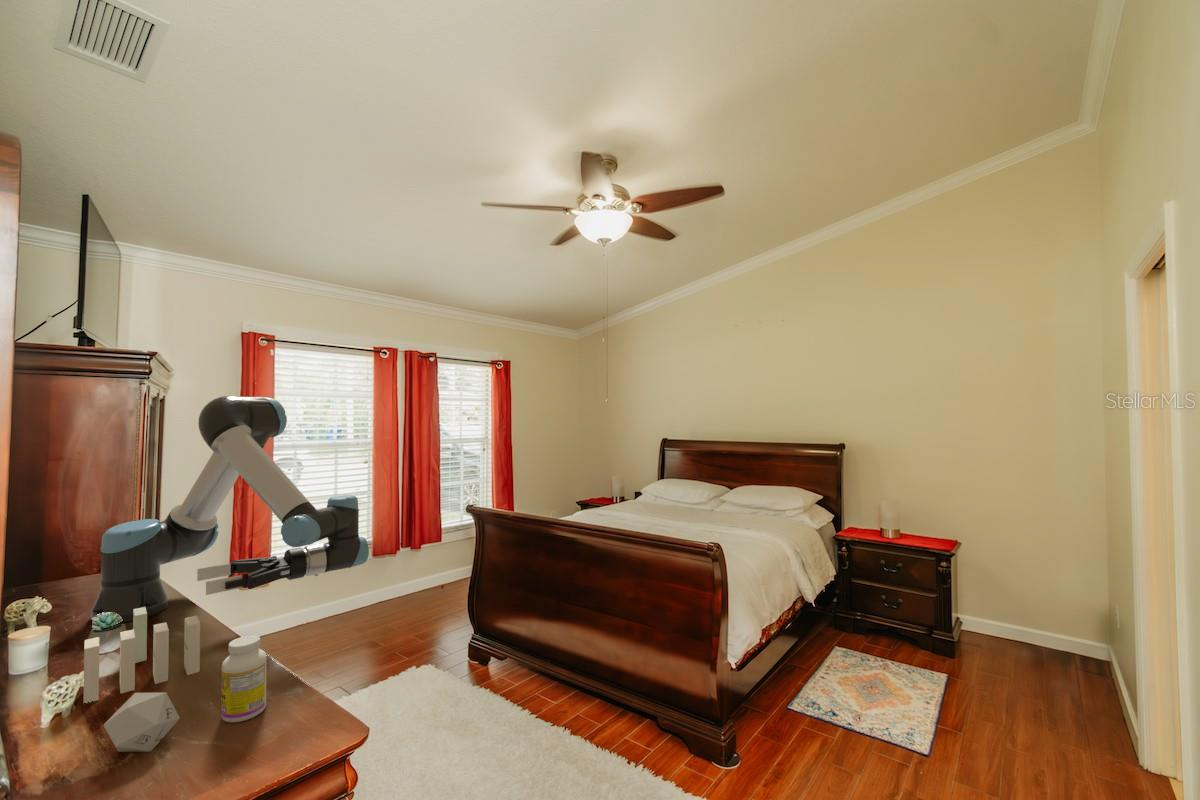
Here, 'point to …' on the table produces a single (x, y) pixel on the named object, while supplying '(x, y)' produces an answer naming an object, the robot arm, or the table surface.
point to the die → (141, 722)
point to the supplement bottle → (243, 680)
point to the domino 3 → (140, 633)
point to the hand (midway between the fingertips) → (201, 581)
